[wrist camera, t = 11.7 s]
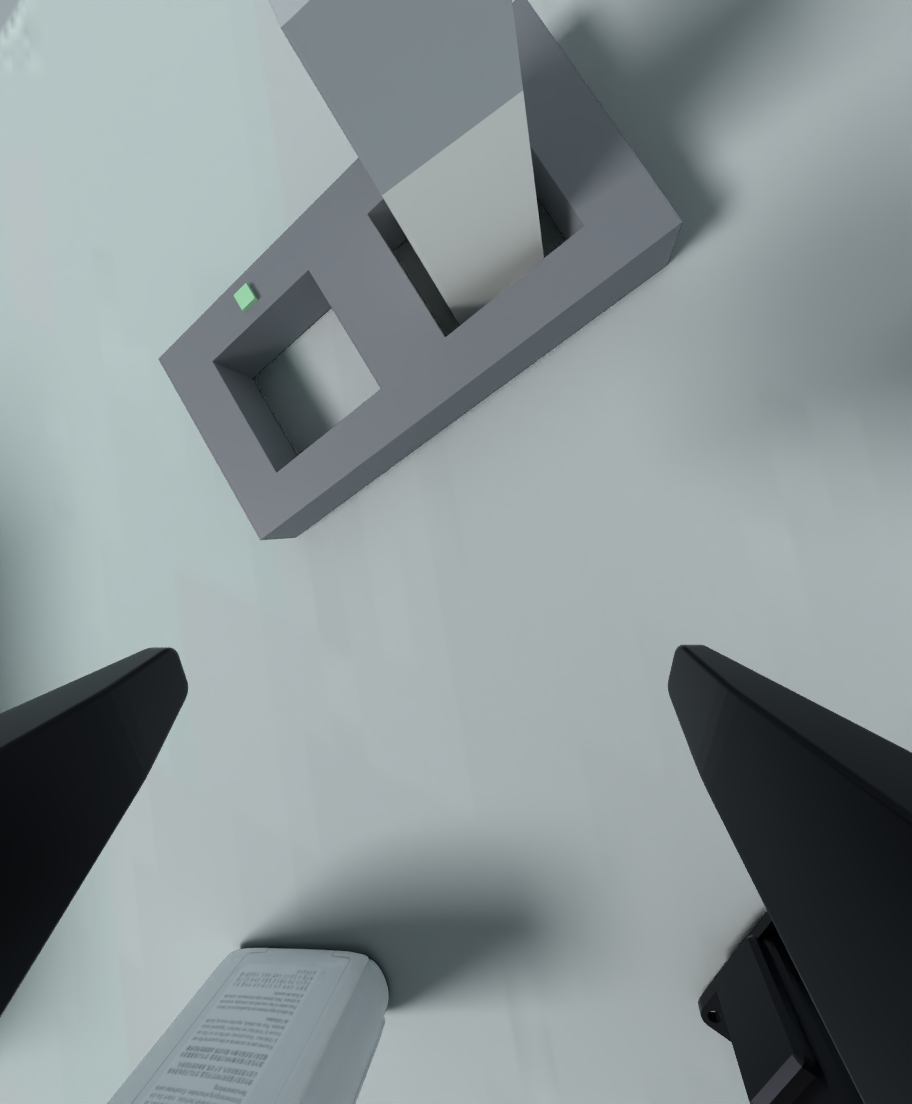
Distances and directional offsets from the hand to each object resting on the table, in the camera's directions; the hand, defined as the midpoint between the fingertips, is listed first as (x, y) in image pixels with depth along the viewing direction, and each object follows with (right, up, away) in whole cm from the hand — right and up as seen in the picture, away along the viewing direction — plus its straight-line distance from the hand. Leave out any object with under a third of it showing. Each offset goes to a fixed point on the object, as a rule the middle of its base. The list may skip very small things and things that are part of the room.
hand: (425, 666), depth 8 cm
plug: (+2, +15, +11) cm, 18 cm away
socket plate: (-2, +12, +12) cm, 17 cm away
